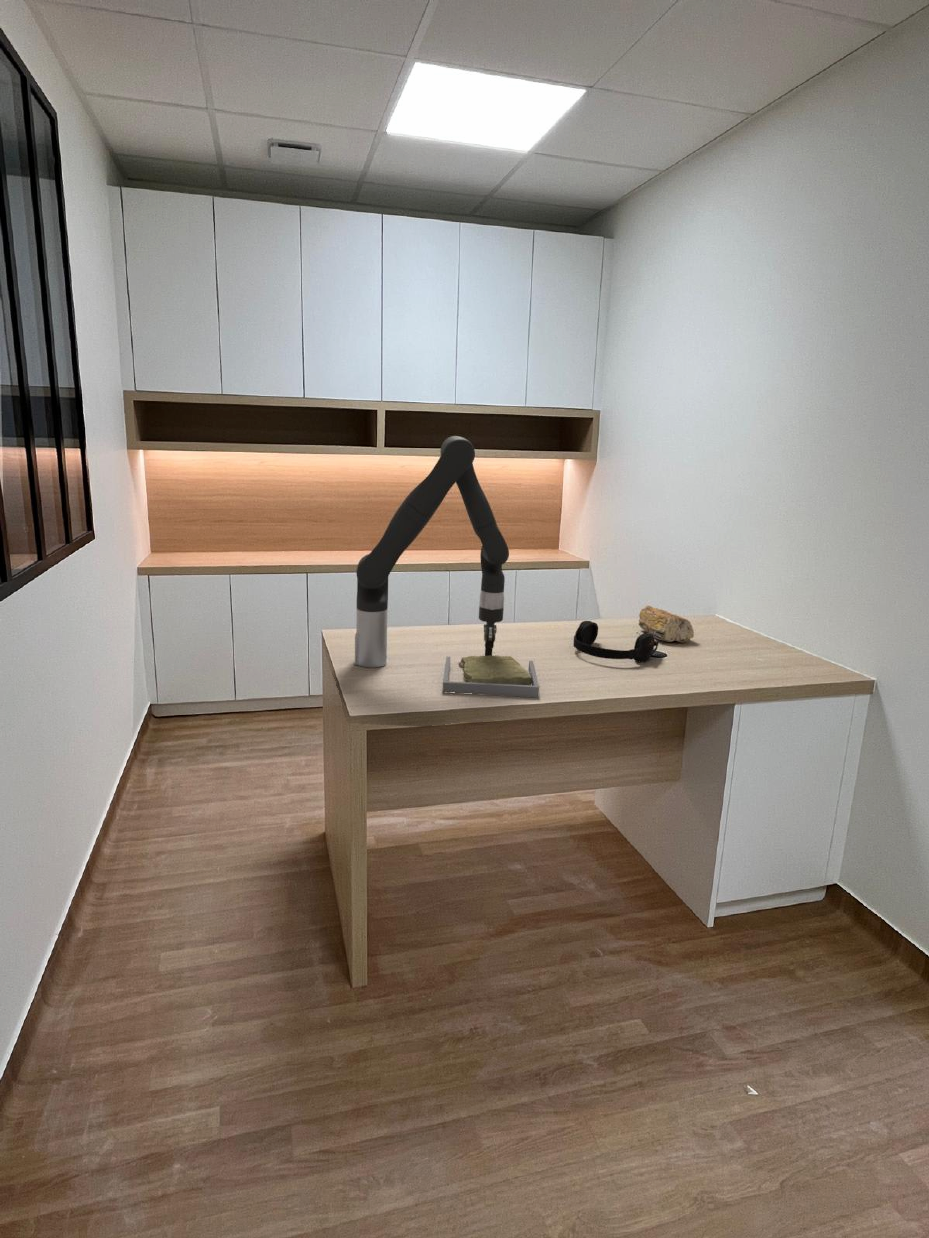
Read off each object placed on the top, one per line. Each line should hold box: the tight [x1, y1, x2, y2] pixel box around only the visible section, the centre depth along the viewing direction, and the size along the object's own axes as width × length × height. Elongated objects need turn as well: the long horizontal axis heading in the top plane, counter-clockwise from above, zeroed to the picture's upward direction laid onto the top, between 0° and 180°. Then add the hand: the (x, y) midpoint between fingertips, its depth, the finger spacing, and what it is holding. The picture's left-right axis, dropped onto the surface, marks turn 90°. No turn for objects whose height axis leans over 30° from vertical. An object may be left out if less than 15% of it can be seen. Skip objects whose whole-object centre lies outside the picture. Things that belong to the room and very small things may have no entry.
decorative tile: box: [458, 654, 532, 685], centre depth 220 cm, size 19×20×4 cm
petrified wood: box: [638, 605, 695, 644], centre depth 269 cm, size 19×13×10 cm
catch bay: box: [442, 656, 540, 698], centre depth 215 cm, size 26×23×3 cm
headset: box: [572, 620, 660, 663], centre depth 245 cm, size 28×26×9 cm
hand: (488, 658), depth 231 cm, fingers closed
